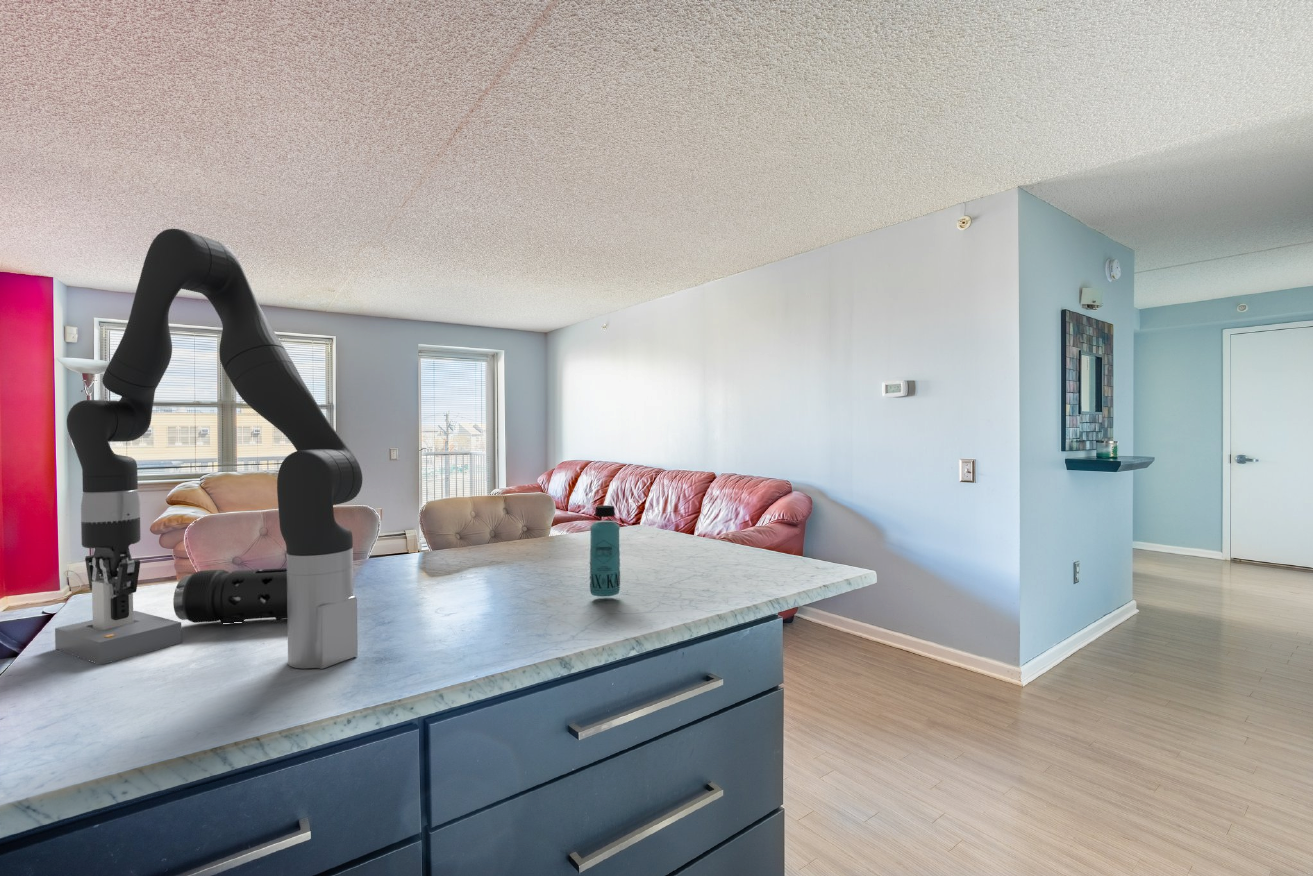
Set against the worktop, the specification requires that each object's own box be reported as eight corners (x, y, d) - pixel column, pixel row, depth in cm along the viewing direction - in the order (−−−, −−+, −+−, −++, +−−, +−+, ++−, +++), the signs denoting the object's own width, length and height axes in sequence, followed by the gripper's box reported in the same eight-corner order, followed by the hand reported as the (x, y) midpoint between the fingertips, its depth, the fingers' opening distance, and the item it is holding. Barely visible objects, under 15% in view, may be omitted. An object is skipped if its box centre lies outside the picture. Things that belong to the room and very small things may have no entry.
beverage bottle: (587, 597, 131) (586, 504, 130) (616, 594, 133) (616, 503, 132) (593, 605, 124) (592, 508, 124) (624, 602, 126) (623, 506, 126)
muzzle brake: (340, 623, 114) (339, 569, 114) (170, 635, 109) (169, 577, 108) (354, 609, 124) (353, 558, 124) (199, 619, 118) (198, 566, 118)
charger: (133, 630, 105) (132, 577, 105) (104, 637, 101) (103, 582, 101) (122, 627, 106) (121, 575, 106) (93, 634, 103) (91, 580, 103)
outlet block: (181, 642, 104) (181, 621, 104) (100, 664, 94) (99, 641, 94) (135, 629, 111) (135, 609, 111) (55, 648, 102) (54, 627, 102)
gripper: (158, 516, 104) (160, 616, 104) (118, 512, 110) (120, 606, 110) (103, 522, 97) (105, 629, 97) (63, 517, 103) (65, 617, 104)
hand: (113, 616), depth 104 cm, fingers open, 4 cm apart
